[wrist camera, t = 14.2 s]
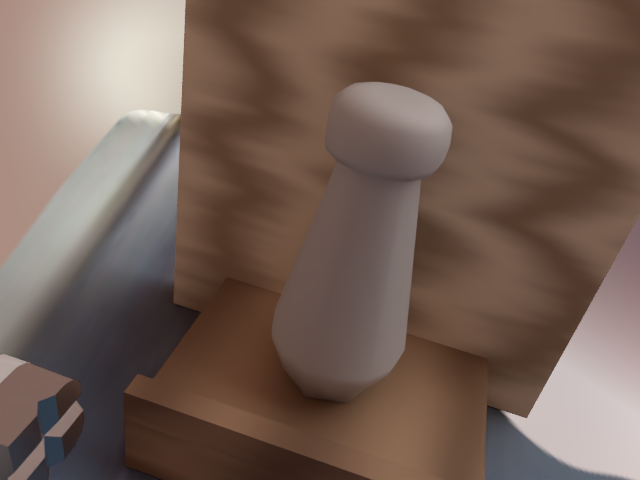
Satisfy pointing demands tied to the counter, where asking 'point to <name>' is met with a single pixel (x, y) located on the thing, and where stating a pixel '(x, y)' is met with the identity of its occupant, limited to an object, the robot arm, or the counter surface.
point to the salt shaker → (360, 242)
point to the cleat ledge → (300, 409)
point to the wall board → (447, 181)
